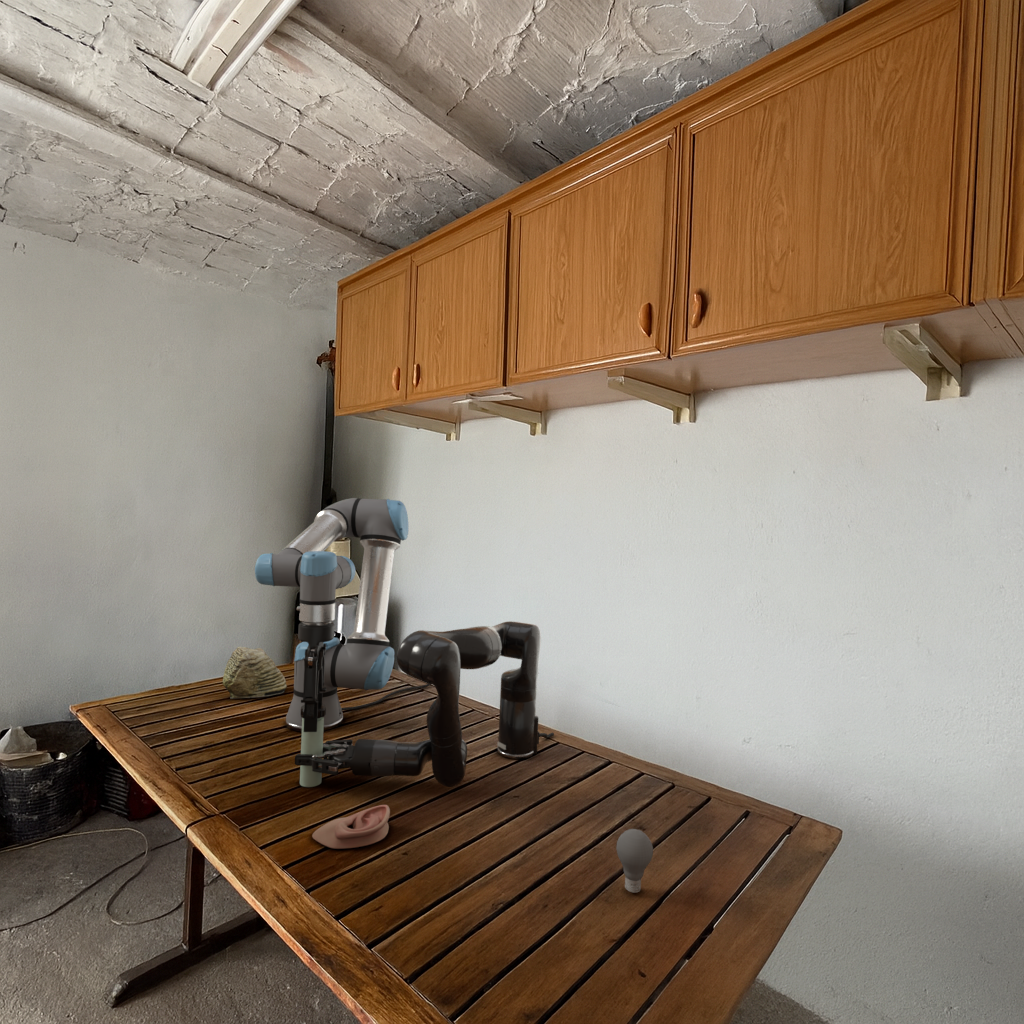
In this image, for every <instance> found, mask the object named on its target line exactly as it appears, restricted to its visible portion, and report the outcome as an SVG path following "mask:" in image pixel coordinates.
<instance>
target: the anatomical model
mask: <svg viewBox="0 0 1024 1024" xmlns="http://www.w3.org/2000/svg"><path fill="white" fill-rule="evenodd" d="M390 816H391V809H390V807H389V805H388V804H380V805H376V806H372V807H368V808H366V809H363V810H361V811H359V812H356V813H353V814H351V815H349V816H346V817H338V818H336V819H333V820H331V821H328V822H326V823H325V824H323V825H322V826H320V827H319V828H317V829H316V830H315V831H314V832H313V833H312V834H311V837H312V839H313V840H315V841H316V842H318V843H319V844H320V845H322V846H325V847H327V848H330V849H334V850H335V849H336V850H341V849H344V850H345V849H353V848H359V847H365V846H369V845H373V844H375V843H378V842H380V841H382V840H384V839H385V838H386V837H387V835H388V833H389V828H390V826H389V825H390V824H389V823H388V821H389V819H390Z"/></svg>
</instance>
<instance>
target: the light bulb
mask: <svg viewBox="0 0 1024 1024" xmlns="http://www.w3.org/2000/svg"><path fill="white" fill-rule="evenodd" d="M615 849H616V854H617V857H618V859H619V861H620V863H621V865H622V867H623V873H624V874H623V875H624V876H625V878H624V888H625V890H627V891H628V892H630V893H634V894H635V893H639V892H640V891H641V889H642V887H641V886H642V879H643V877H644V875H645V871H646V868H647V867H648V866H649V864H650V863H651V861H652V859H653V855H654V847H653V843H652V841H651V838H649V836H648V835H647V834H646V833H645V832H643V831H642V830H641V829H636V828H629V829H627V830H625V831H623V832H622V833H621V834H620V835H619V837H618V839H617V841H616V847H615Z"/></svg>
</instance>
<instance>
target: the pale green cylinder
mask: <svg viewBox="0 0 1024 1024" xmlns="http://www.w3.org/2000/svg"><path fill="white" fill-rule="evenodd" d="M323 729H324V717H322V718H318V719H317V732H304V718H302V732H301V737H300V738H301V739H300V740H301V741H300V754H312V755H317V754H323V744H324V731H323ZM320 759H323V758H320ZM299 767H300V768H299V785H300V786H301V787H304V788H313V787H317V786H319V785H321V784H322V780H323V773H319V772H314V771H312V766H302V765H299ZM319 768H322V767H319Z"/></svg>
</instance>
